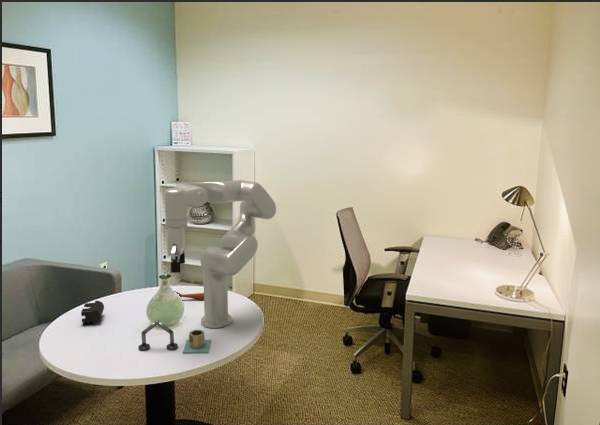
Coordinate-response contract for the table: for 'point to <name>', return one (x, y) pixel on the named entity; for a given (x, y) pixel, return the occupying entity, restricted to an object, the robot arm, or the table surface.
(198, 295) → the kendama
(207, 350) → the mat
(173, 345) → the pipe arch
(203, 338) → the bronze ring
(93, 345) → the table surface
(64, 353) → the table surface
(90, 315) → the dark brown lumpy block
